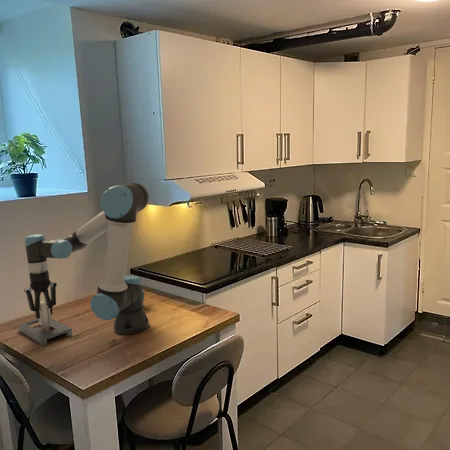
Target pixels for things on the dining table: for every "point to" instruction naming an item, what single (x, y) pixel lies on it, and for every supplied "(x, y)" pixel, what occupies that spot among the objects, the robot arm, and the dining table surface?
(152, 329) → the dining table surface
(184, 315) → the dining table surface
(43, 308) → the peg
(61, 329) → the keyhole plate
